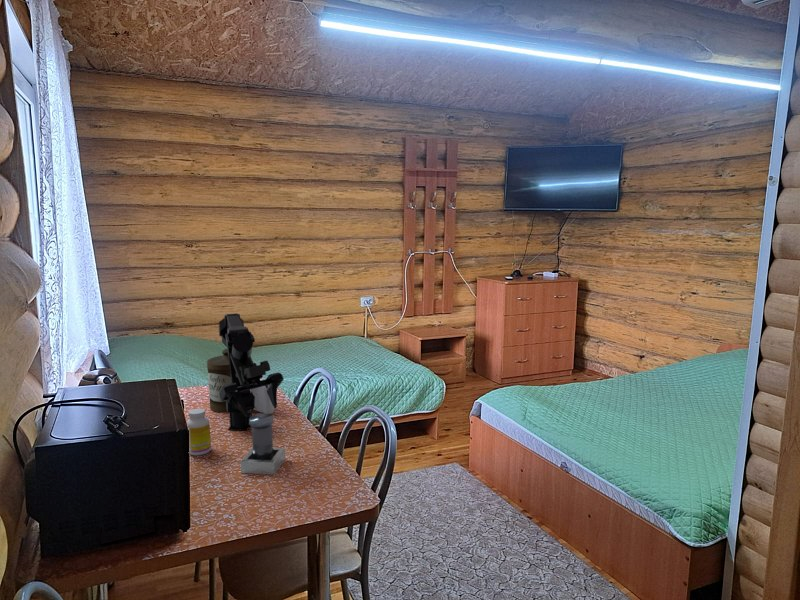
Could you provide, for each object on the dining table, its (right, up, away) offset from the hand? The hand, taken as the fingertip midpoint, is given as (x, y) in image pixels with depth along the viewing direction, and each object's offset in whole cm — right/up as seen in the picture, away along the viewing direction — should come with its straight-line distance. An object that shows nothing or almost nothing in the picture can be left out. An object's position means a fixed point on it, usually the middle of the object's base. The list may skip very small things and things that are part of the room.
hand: (261, 411), depth 167 cm
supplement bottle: (-20, -13, +5) cm, 24 cm away
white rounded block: (-9, -8, +39) cm, 41 cm away
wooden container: (-23, -7, +45) cm, 51 cm away
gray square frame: (+2, -14, -6) cm, 16 cm away
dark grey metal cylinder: (+2, -14, -6) cm, 16 cm away
